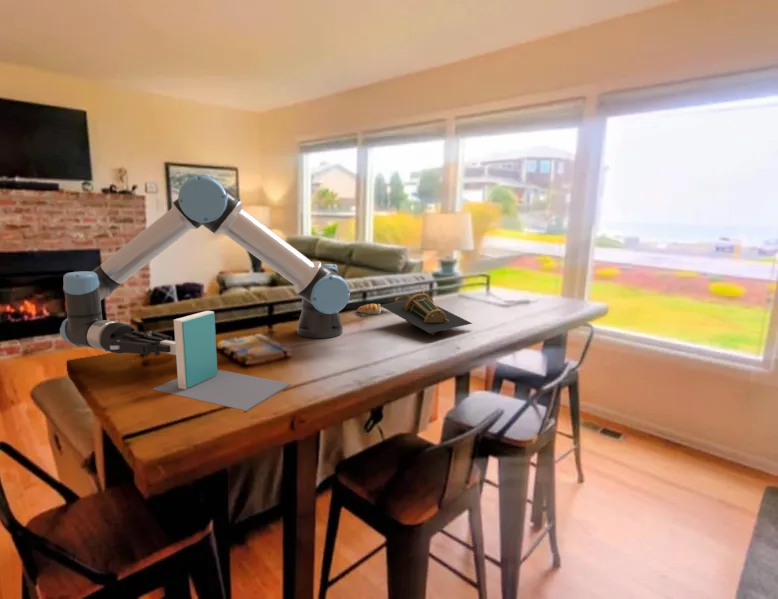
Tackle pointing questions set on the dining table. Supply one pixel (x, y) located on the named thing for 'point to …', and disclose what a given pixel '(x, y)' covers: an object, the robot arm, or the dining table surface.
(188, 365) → the tile
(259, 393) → the mat
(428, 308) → the lantern
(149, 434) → the dining table surface
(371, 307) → the pastry
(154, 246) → the robot arm
